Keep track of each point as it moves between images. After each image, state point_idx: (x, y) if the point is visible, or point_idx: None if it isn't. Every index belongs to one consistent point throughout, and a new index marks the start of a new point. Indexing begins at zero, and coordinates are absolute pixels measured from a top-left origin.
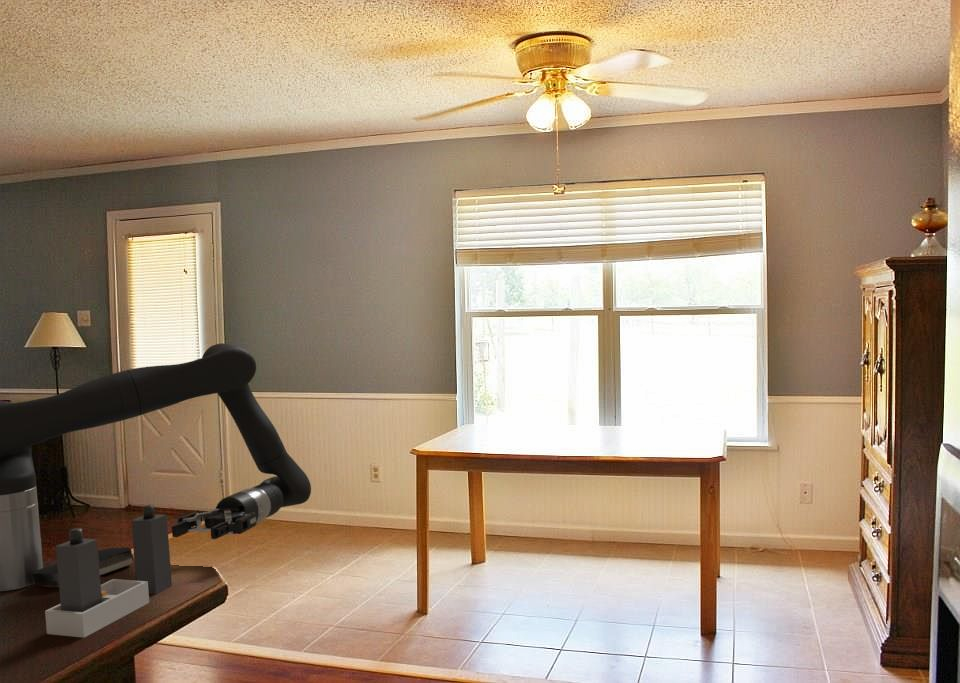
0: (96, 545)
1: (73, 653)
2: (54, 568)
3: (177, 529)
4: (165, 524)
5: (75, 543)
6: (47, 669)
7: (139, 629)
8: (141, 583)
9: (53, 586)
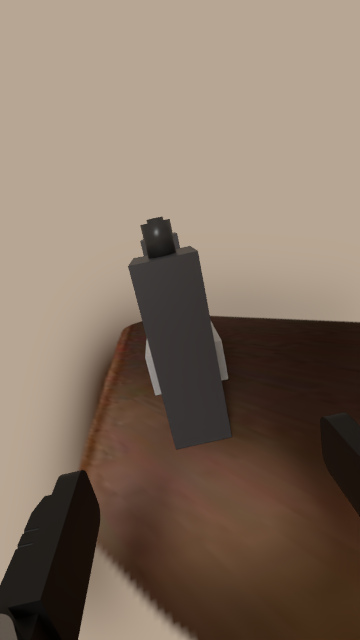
0: (142, 249)
1: (144, 333)
2: None
3: (331, 444)
4: (136, 291)
5: None
6: (142, 323)
7: (112, 366)
8: (149, 351)
9: None
